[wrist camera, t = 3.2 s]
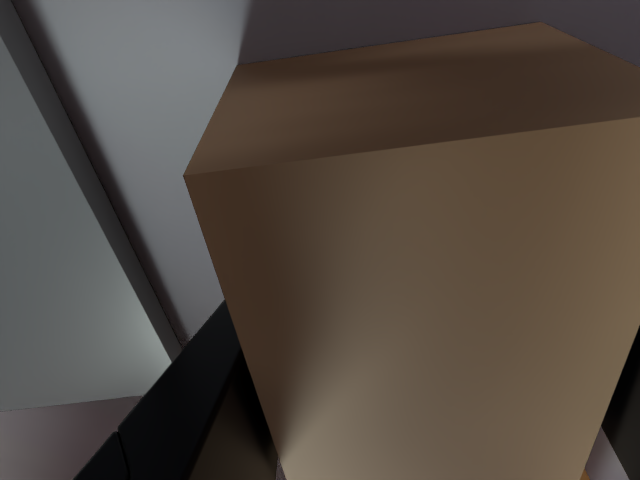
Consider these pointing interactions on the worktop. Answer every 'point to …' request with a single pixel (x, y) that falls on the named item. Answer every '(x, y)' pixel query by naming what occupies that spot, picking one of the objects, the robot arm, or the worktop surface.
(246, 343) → the walnut brick
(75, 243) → the baseplate
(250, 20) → the worktop surface
